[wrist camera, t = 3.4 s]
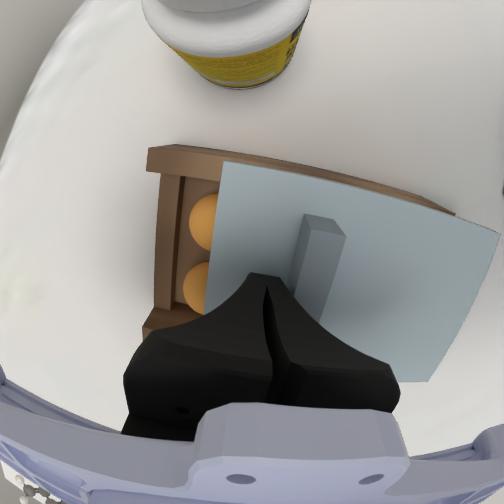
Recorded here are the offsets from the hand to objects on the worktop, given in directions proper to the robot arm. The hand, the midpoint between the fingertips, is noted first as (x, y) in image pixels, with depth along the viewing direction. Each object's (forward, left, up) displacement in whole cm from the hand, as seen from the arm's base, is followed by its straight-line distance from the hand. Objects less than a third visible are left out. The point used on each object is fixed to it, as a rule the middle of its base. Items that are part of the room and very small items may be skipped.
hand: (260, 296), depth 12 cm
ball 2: (+2, +2, -4) cm, 5 cm away
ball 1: (+2, -2, -4) cm, 5 cm away
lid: (-5, 0, -1) cm, 5 cm away
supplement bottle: (+3, -11, -5) cm, 13 cm away
